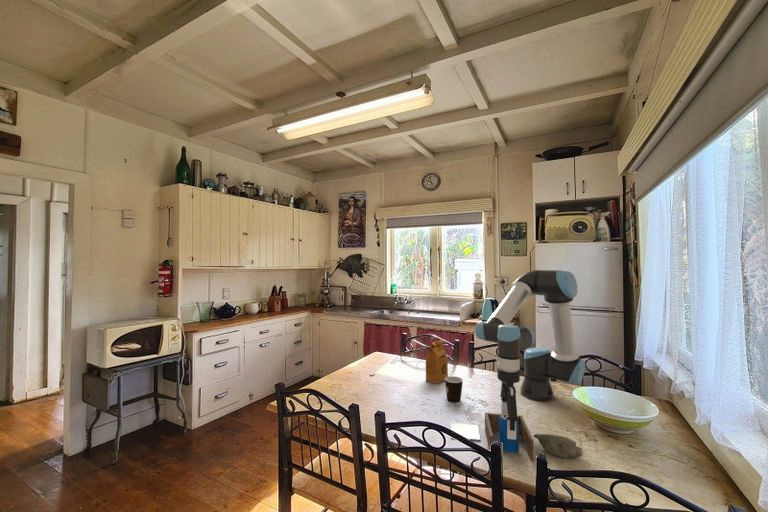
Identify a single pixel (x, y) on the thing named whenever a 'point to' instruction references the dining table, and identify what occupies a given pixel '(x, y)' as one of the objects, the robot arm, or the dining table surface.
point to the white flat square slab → (466, 430)
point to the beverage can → (508, 444)
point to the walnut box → (523, 431)
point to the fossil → (559, 445)
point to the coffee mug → (453, 388)
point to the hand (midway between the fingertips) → (508, 428)
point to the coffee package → (436, 363)
